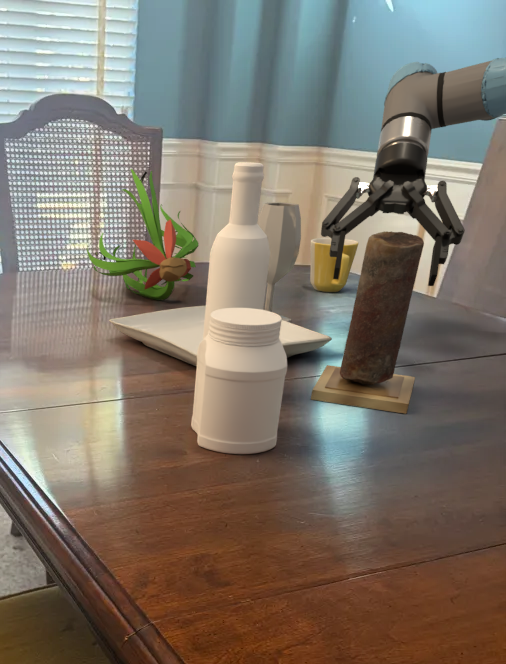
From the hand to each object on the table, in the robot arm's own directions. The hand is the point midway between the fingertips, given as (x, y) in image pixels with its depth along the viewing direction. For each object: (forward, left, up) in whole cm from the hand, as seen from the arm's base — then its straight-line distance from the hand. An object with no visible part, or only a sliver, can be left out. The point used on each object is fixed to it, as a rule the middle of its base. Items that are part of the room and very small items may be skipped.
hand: (383, 277), depth 114 cm
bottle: (+17, +20, -15) cm, 30 cm away
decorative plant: (+49, -36, -15) cm, 62 cm away
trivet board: (-1, +10, -14) cm, 18 cm away
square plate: (+25, -3, -15) cm, 29 cm away
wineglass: (+21, -24, -15) cm, 35 cm away
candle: (-1, +10, -13) cm, 17 cm away
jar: (+12, +35, -15) cm, 40 cm away
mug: (+15, -59, -15) cm, 62 cm away
